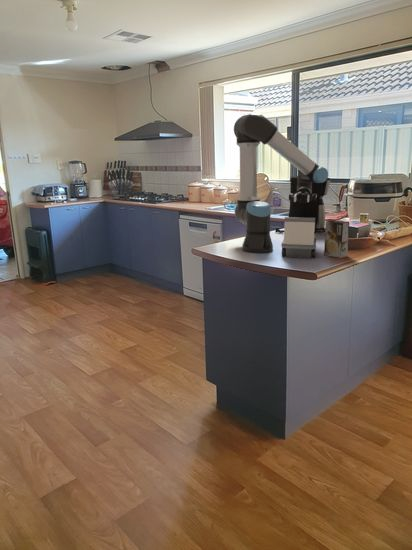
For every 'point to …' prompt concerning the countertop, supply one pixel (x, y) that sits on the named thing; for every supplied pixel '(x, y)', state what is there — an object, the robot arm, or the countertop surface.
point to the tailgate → (299, 232)
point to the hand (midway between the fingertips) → (301, 199)
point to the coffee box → (336, 238)
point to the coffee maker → (309, 204)
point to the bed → (298, 251)
